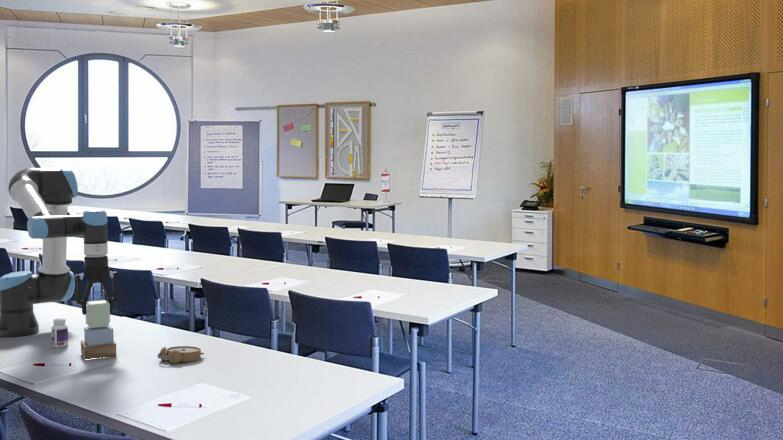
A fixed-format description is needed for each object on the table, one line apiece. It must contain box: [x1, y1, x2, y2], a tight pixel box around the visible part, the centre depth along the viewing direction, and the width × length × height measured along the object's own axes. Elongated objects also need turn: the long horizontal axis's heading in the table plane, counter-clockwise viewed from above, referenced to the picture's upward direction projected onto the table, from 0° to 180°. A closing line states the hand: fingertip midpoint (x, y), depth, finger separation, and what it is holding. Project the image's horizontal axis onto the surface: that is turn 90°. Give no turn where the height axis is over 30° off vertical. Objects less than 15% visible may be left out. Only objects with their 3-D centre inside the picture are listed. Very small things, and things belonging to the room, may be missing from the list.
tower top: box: [83, 324, 115, 346], centre depth 258 cm, size 8×8×5 cm
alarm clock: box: [157, 345, 205, 365], centre depth 253 cm, size 11×5×15 cm
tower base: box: [80, 339, 117, 360], centre depth 258 cm, size 10×10×5 cm
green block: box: [87, 299, 110, 328], centre depth 257 cm, size 6×6×8 cm
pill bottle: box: [50, 317, 69, 348], centre depth 271 cm, size 5×5×10 cm
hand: (97, 322), depth 258 cm, fingers closed on green block, 6 cm apart
